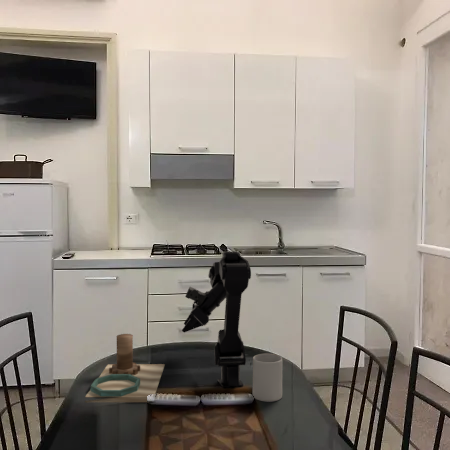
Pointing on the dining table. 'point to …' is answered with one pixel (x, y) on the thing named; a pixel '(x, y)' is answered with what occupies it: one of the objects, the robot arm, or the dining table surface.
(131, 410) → the dining table surface
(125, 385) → the gear board
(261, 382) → the mug
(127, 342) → the gear
